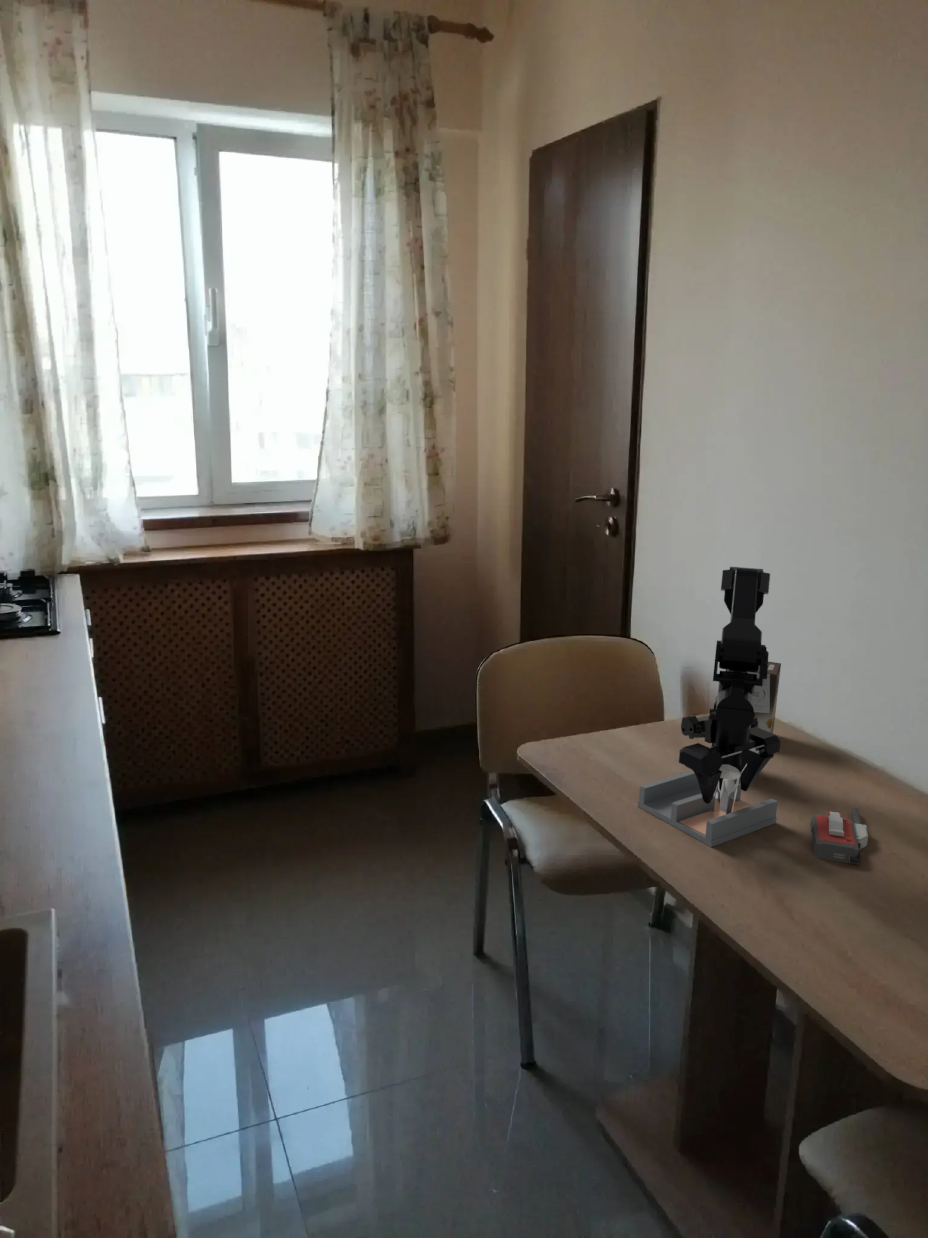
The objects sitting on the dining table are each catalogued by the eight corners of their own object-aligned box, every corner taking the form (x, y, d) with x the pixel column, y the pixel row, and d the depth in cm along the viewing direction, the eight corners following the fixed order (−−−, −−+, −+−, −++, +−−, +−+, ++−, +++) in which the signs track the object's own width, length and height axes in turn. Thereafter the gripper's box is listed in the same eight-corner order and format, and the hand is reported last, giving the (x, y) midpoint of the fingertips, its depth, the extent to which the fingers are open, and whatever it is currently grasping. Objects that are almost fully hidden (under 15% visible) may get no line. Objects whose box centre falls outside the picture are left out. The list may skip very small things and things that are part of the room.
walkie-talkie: (873, 873, 143) (860, 817, 161) (876, 847, 142) (863, 793, 160) (812, 863, 145) (807, 809, 164) (816, 838, 144) (810, 786, 163)
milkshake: (741, 824, 154) (747, 769, 152) (708, 820, 155) (714, 765, 153) (739, 812, 158) (746, 758, 156) (707, 808, 160) (713, 755, 157)
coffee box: (769, 749, 189) (777, 674, 185) (737, 744, 192) (744, 670, 188) (773, 734, 198) (781, 662, 193) (742, 729, 200) (750, 658, 196)
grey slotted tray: (700, 786, 171) (702, 766, 170) (776, 823, 158) (778, 801, 156) (637, 806, 163) (639, 785, 162) (711, 847, 149) (713, 824, 148)
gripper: (734, 686, 163) (726, 768, 167) (658, 704, 153) (651, 791, 157) (786, 705, 154) (776, 791, 158) (709, 726, 144) (700, 817, 148)
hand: (725, 796), depth 156 cm, fingers open, 9 cm apart
